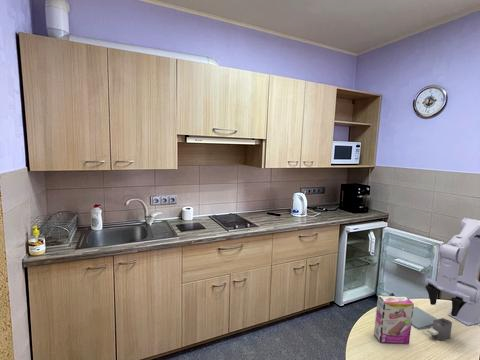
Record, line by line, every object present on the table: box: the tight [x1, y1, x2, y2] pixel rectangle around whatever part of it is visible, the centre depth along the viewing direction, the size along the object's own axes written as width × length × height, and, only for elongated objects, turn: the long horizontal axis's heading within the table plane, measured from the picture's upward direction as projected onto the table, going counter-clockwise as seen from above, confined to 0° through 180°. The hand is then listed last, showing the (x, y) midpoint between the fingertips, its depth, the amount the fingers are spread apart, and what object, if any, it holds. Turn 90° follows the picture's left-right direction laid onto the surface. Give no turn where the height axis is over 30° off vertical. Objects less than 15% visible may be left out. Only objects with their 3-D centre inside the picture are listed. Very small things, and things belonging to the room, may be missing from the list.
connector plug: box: [427, 317, 453, 342], centre depth 98 cm, size 10×4×6 cm, turn 108°
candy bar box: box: [373, 295, 415, 345], centre depth 95 cm, size 11×5×16 cm, turn 89°
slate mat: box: [411, 306, 438, 331], centre depth 110 cm, size 14×11×1 cm
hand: (443, 309), depth 98 cm, fingers open, 7 cm apart
